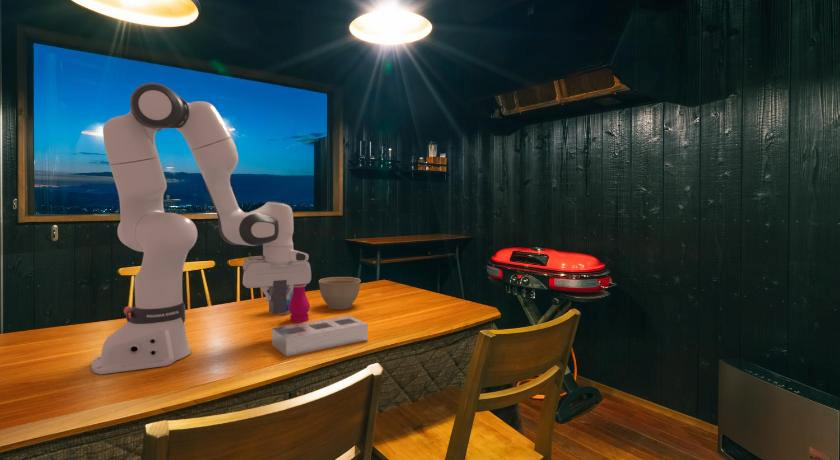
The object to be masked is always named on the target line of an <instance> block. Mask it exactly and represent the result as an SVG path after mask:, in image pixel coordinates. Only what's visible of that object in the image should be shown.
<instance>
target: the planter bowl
mask: <svg viewBox="0 0 840 460" xmlns="http://www.w3.org/2000/svg"><path fill="white" fill-rule="evenodd" d="M361 282H362V281H361V278H357V277H352V276H334V277H333V276H331V277H325V278H321V279H319V280H318V285H319V291H320V294H321V298H322V300H323V301H324V303H325V304H326V306H327V308H328V309H330V310H348V309H350V308H352V307H353V303H354V302H355V301H356V300H357V297H358V295H359V292H360V287H361Z"/></svg>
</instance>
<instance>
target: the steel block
mask: <svg viewBox="0 0 840 460" xmlns="http://www.w3.org/2000/svg"><path fill="white" fill-rule="evenodd" d="M286 293H287V280H279V281H273V286H270V287H269V290H268V294H269V295H272V301H268V312H269V313H271V314H272V315H279V314H278V313H286Z"/></svg>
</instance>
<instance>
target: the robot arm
mask: <svg viewBox="0 0 840 460" xmlns="http://www.w3.org/2000/svg"><path fill="white" fill-rule="evenodd" d="M129 105H130V111H129V112H128V113H126V114H124V115H117V116H115V117H111V118H110V119H108V120H107V121H105V123H104V124H103V127H102V135H103V137H102V138H103V143H104V150H105V153H106V157H107V161H108V164H109V168H110V170H111V173H112V176H113V180H114V183H115V186H116V190H117V194H118V200H119V212H120V214H119V215H120V222H119V224H118V226H117V237H118V240H119V241H120V242H121V243H122V244H123V245H124V246H127V247H128V248H130V249H132V250H133V251H136V252H141V253H143V255H142V256H143V257H142V262H141V266H140V269H139V271H138V272H137V273H136V275H135V276H134V301H135V302H134V304H135V306H133V307H131V306H125V307H124V308H123V313H124V315H125V316H126V322H125V323H124V324H123V325H121V326H120V327H119V328H118V329H116V330H114V331H113V333H111V334H110V335H109V336H108V337H107V338H106V339H105V340H104V342H103V345H102V349H101V354H99V355H98V356H96V357H95V358H94V359H93V360H92V361H91V371H92V372H93V373H95V374H98V375H106V374H115V373H120V372H130V371H137V370H144V369H151V368H152V369H153V368H160V367H166V366H170V365H172V364H173V363H174V362H176V361H178V360H181V359H183V358H185V357H187V356H188V355H190V354H191V352H192V350H191V347H190V345H189V341H188V337H187V333H186V327H185V322H186V306H185V305H186V304H185V302H184V300H183V272H184V267H185V263H186V259H187V256H188V253H189V252H190V250H191V249H192V248H193V247H194V246H195V244H196V242H197V239H198V229H197V226H196V224H195V223H194V222H193V220H191V219H190V218H188V217H186V216H184V215H182V214H179V213H176V212H166V211H165V209H164V208H165V207H164V195H165V192H166V191H167V187H168V184H167V180H166V176H165V173H164V170H163V166H162V163H161V160H160V156H159V153H158V149H157V145H156V142H155V141H156V139H155V137H156V133H157V132H159V131H161V130H165V129H176V130H177V131H178V132H180V133H181V134H182V137H183V138H184V139H185V141H186V144H187V146H188V148H189V150H190V152H191V155H192V157H193V158H194V160H195V162H196V164H197V167H198V169H199V171H200V173H201V175H202V178H203V180H204V184H205V186H206V190H207V192H208V194H209V196H210V200H211V202H212V205H213V207H214V210H215V212H216V214H217V221H218V222H217V223H218V224H217V225H218V227H217V229H218V232H219V235H220V238H221V239H222V240H223V241H224V242H225V243H227V244H229V245H233V246H239V245H240V246H241V245H242V246H252V247H255V246H259V245H262V255H256V256H252V255H250V256H248V257H245V259H244V260H243V262H242V270H243V274H242V285H243V286H244V287H245V288H247V289H253V288H261V291H262V292H263V294H264V295H265V302H268V303H269V301H272V295H269V287H270V286H273V281H279V280H287V288H288V290H287V293H286V300H288V299H290V293H291V292H292V290H293V285H296V284H306V285H307V284H310V282H311V280H312V270H311V264H310V263H309V261H308V260H309V259H310V258H309V253H306V252H302V251H299V250H298V249H297V250H296V249H294V242H293V234H294V229H295V228H294V214H293V209H292V207H291V206H290V205H289V204H286V203H284V202H278V201H266V203H265V204H264V205H262V206H260V207H258V208H257V209H256V208H255V209H254V210H251V211H249V212H245V211H243V210H242V209H241V208H240V206H239V204H238V201H237V199H236V197H235V194H234V191H233V187H232V186H231V175H232V173H233V172H234V170H235V169H236V167H237V165H238V164H239V154H238V150H237V149H238V148H237V146H236V144H235V141H234V140H233V136H232V135H231V133H230V130H229V128H228V126H227V124H226V122H225V120H224V119H223V117H222V116H221V114H220V112H219V111H218V110H217V109H216V107H215V106H214V105H213V104H212V103H210V102H208V101H202V100H201V101H200V100H199V101H192V102H187V101H186V100H185V99H184V98H183V97H181V96H180V95H178V94H177V93H176V92H175V91H174V90H173V89H171V88H170V87H167V86H166V85H164V84H161V83H157V82H148V83H143V84H141V85H139V86H138V87H136V88H135V90H134V91H133V92H132V94H131V96H130V99H129Z"/></svg>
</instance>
